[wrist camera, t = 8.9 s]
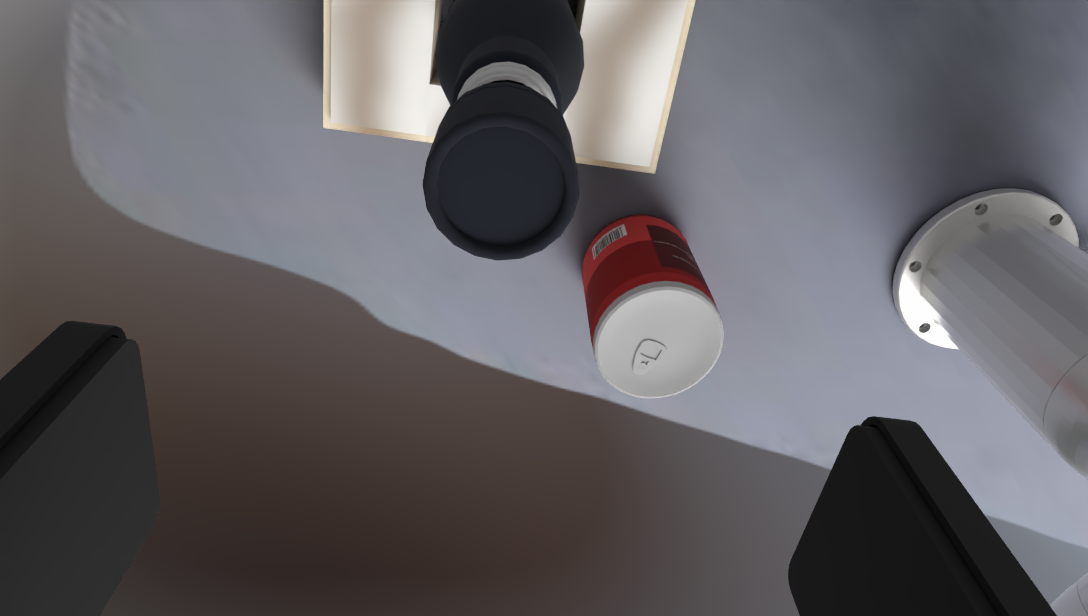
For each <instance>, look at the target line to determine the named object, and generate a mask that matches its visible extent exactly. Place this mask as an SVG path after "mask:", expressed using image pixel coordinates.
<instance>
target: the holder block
mask: <svg viewBox="0 0 1088 616" xmlns="http://www.w3.org/2000/svg"><path fill="white" fill-rule="evenodd" d="M695 1H696V0H578V7H577V13H576V19H575V21H576V24H577V27H578V29H579V32H580V35H581V37H582V40H583V49H584V69H583V73H582V77H581V81H580V85H579V89H578V91H577V93H576V95H575V97H574V99H573V100H572V102H571V103H570V105H569V107H568V108H567V110H566V111H565V113H564V114H563V117H564V120H565V122H566V125H567V127H568V130H569V132H570V135H571V139H572V144H573V149H574V154H575V160H576V163H581V164H588V165H595V166H603V167H610V168H617V169H624V170H631V171H639V172H646V173H653V174H655V170H656V166H657V162H658V158H659V153H660V149H661V145H662V141H663V136H664V132H665V128H666V124H667V119H668V115H669V111H670V107H671V102H672V98H673V94H674V90H675V85H676V81H677V77H678V73H679V68H680V64H681V60H682V56H683V51H684V47H685V43H686V39H687V34H688V30H689V26H690V22H691V17H692V13H693V9H694V5H695ZM441 13H442V0H324V85H323V128H329V129H337V130H344V131H351V132H358V133H365V134H372V135H380V136H387V137H394V138H401V139H408V140H416V141H423V142H430V143H433V141H434V138H435V135H436V132H437V130H438V127H439V125H440V123H441V121H442V119H443V117H444V115H445V114H446V112H447V110H448V108H449V107H450V104H449V102H448V100H447V98H446V96H445V94H444V91H443V89H442V87H441V85H440V82H439V78H438V71H437V65H436V58H435V52H436V46H437V40H438V33H439V30H440V26H441Z"/></svg>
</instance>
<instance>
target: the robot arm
mask: <svg viewBox="0 0 1088 616" xmlns="http://www.w3.org/2000/svg"><path fill="white" fill-rule="evenodd" d="M893 298H894V304H895V307H896V309H897V312H898V314H899V316H900V318H901V319H902V320H903V321H904V323H905V324H906V325H907V327H908V328H909V329H910V330H911V331H912V332H913V333H914V334H915V335H916V336H918V337H919V338H921V339H923V340H924V341H926V342H928V343H930V344H933V345H936V346H939V347H942V348H950V349H959V350H960V351H961V352H962V353H963V354H964V355H965V356H966V357H967V358H968V359H969V360H970V361H971V362H972V364H973V365H974V366H975V367H976V368H977V369H978V370H979V371H980V372H981V373H982V374H983V375H984V376H985V377H986V378H987V380H988V381H989V382H990V383H991V384H992V385H993V386H994V387H995V388H996V389H997V390H998V391H999V392H1000V393H1001V394H1002V396H1003V397H1004V398H1005V399H1006V400H1007V401H1008V402H1009V403H1010V404H1011V405H1012V406H1013V407H1014V408H1015V409H1016V410H1017V412H1018V413H1019V414H1020V415H1021V416H1022V417H1023V418H1024V419H1025V420H1026V421H1027V422H1028V423H1029V424H1030V425H1031V427H1032V428H1033V429H1034V430H1035V431H1036V432H1037V433H1038V434H1039V435H1040V436H1041V437H1042V438H1043V439H1044V440H1045V441H1046V442H1047V443H1048V444H1049V445H1050V446H1051V447H1052V448H1053V450H1054V451H1055V452H1056V453H1057V454H1058V455H1059V456H1060V457H1061V458H1062V459H1063V460H1064V461H1065V462H1066V463H1067V464H1068V465H1069V466H1070V467H1071V468H1072V469H1073V470H1075V471H1076V472H1077V473H1078V474H1080V475H1081V476H1083V477H1084V478H1086V479H1087V480H1088V254H1087V253H1085V252H1084V251H1082V250H1081V249H1079V238H1078V234H1077V231H1076V227H1075V224H1074V223H1073V221H1072V219H1071V218H1070V216H1069V215H1068V213H1067V212H1066V211H1065V210H1063V209H1062V208H1061V207H1060V206H1059V205H1058V204H1057V203H1055V202H1053V201H1052V200H1050V199H1048V198H1047V197H1045V196H1043V195H1040V194H1038V193H1035V192H1032V191H1030V190H1023V189H1016V188H1004V189H993V190H988V191H984V192H979V193H976V194H973V195H971V196H968V197H965V198H963V199H960V200H958V201H957V202H955V203H953V204H951V205H950V206H948V207H946V208H944V209H943V210H941V211H940V212H939V213H937V214H936V215H935V216H933V217H932V218H931V219H930V220H928V221H927V222H926V223H925V224H924V225H923V226H922V227H921V228H920V229H919V230H918V231H917V232H916V233H915V235H914V236H913V237H912V239H911V240H910V242H909V243H908V245H907V246H906V247H905V249H904V251H903V253H902V255H901V257H900V259H899V261H898V263H897V267H896V270H895V274H894V278H893ZM159 508H160V492H159V485H158V478H157V471H156V464H155V457H154V450H153V442H152V436H151V428H150V422H149V414H148V407H147V400H146V394H145V386H144V379H143V372H142V365H141V357H140V351H139V347H138V344H137V343H136V341H134V340H130V339H126V336H125V333H124V332H123V330H122V329H121V328H119V327H117V326H110V325H102V324H94V323H85V322H77V321H69V322H65V323H63V324H62V325H60V326H59V327H58V328H57V329H56V330H55V331H53V332H52V333H51V334H50V335H49V336H48V337H47V338H46V339H45V340H44V341H43V342H41V343H40V344H39V345H38V346H37V347H36V348H35V349H34V350H33V351H32V352H30V353H29V354H28V355H27V356H26V357H25V358H24V359H23V360H22V361H21V362H19V363H18V364H17V365H16V366H15V367H14V368H13V369H12V370H11V371H10V372H8V373H7V374H6V375H5V376H4V377H3V378H2V379H1V380H0V616H100V614H101V613H102V611H103V609H104V608H105V606H106V604H107V603H108V601H109V599H110V598H111V596H112V594H113V593H114V591H115V590H116V587H117V586H118V585H119V583H120V581H121V580H122V578H123V576H124V575H125V573H126V571H127V570H128V568H129V566H130V565H131V563H132V561H133V560H134V558H135V556H136V555H137V553H138V551H139V550H140V548H141V546H142V545H143V543H144V541H145V540H146V538H147V536H148V535H149V533H150V532H151V530H152V528H153V526H154V524H155V522H156V519H157V516H158V512H159ZM788 579H789V586H790V589H791V592H792V595H793V598H794V601H795V603H796V606H797V609H798V612H799V614H800V616H1088V573H1087V574H1085V575H1084V576H1083V577H1081V578H1080V579H1079V580H1078V581H1077V582H1076V583H1074V584H1073V585H1072V586H1070V587H1069V588H1068V589H1067V590H1066V591H1065V592H1064V593H1062V594H1061V595H1060V596H1059V597H1058V598H1057V599H1056V600H1055V601H1054V602H1053V603H1052V604H1051V605H1049V604H1048V603H1047V601H1046V600H1045V599H1044V597H1043V596H1042V594H1041V593H1040V591H1039V590H1038V589H1037V587H1036V586H1035V585H1034V583H1033V582H1032V580H1031V579H1030V578H1029V576H1028V575H1027V573H1026V572H1025V571H1024V569H1023V568H1022V567H1021V565H1020V564H1019V562H1018V561H1017V560H1016V558H1015V557H1014V556H1013V554H1012V553H1011V551H1010V550H1009V549H1008V547H1007V546H1006V544H1005V543H1004V542H1003V540H1002V539H1001V537H1000V536H999V535H998V533H997V532H996V531H995V529H994V528H993V526H992V525H991V524H990V522H989V521H988V519H987V518H986V517H985V515H984V514H983V512H982V511H981V510H980V508H979V507H978V506H977V504H976V503H975V501H974V500H973V499H972V497H971V496H970V494H969V493H968V492H967V490H966V489H965V488H964V486H963V485H962V483H961V482H960V481H959V479H958V478H957V476H956V475H955V474H954V472H953V471H952V469H951V468H950V467H949V465H948V464H947V463H946V461H945V460H944V458H943V457H942V456H941V454H940V453H939V451H938V450H937V449H936V447H935V446H934V445H933V443H932V442H931V440H930V439H929V438H928V436H927V435H926V433H925V432H924V431H923V429H922V428H921V427H920V426H919V425H918V424H917V423H916V422H913V421H908V420H900V419H891V418H883V417H875V416H873V417H868V418H867V419H866V420H865V421H863V423H862V424H861V426H860V425H857V426H854V427H852V428H851V429H850V431H849V432H848V434H847V436H846V439H845V441H844V443H843V445H842V448H841V450H840V452H839V454H838V456H837V459H836V461H835V463H834V465H833V468H832V470H831V472H830V474H829V476H828V479H827V481H826V483H825V485H824V488H823V490H822V492H821V494H820V497H819V499H818V501H817V503H816V505H815V508H814V510H813V512H812V514H811V517H810V519H809V521H808V523H807V526H806V528H805V530H804V532H803V534H802V537H801V539H800V541H799V543H798V545H797V548H796V550H795V552H794V554H793V556H792V559H791V561H790V564H789V573H788Z"/></svg>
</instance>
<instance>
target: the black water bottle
mask: <svg viewBox="0 0 1088 616" xmlns="http://www.w3.org/2000/svg"><path fill="white" fill-rule="evenodd" d="M435 58H436V65H437V71H438V78H439V82H440V85H441V87H442V89H443V91H444V94H445V96H446V98H447V100H448V102H449V104H450V107H449V108H448V110H447V112H446V114H445V115H444V117H443V119H442V121H441V123H440V125H439V127H438V130H437V132H436V135H435V138H434V141H433V144H432V147H431V150H430V153H429V156H428V158H427V161H426V167H425V173H424V179H423V190H424V195H425V201H426V207H427V210H428V212H429V213H430V215H431V217H432V219H433V221H434V223H435V225H436V227H437V228H438V230H439V231H441V232H442V233H443V234H444V235H445V236H446V237H447V238H448V239H449V240H450V241H451V242H452V243H453V244H454V245H455V246H457V247H459V248H461V249H463V250H465V251H467V252H469V253H471V254H472V255H474V256H478V257H483V258H488V259H493V260H509V259H521V258H523V257H526V256H529V255H531V254H534V253H536V252H539V251H541V250H543V249H544V248H546V247H547V246H548V245H549V244H551V243H552V242H553V241H555V240H556V239H557V238H558V237H560V236H561V234H562V233H563V231H564V230H565V228H566V227H567V225H568V224H569V222H570V221H571V219H572V218H573V215H574V211H575V208H576V204H577V201H578V197H579V183H578V170H577V165H576V160H575V154H574V149H573V144H572V139H571V135H570V132H569V130H568V127H567V125H566V122H565V120H564V117H563V114H564V113H565V111H566V110H567V108H568V107H569V105H570V103H571V102H572V100H573V99H574V97H575V95H576V93H577V91H578V89H579V85H580V81H581V77H582V73H583V69H584V49H583V40H582V37H581V35H580V32H579V29H578V27H577V24H576V21H575V19H574V16H573V13H572V11H571V8H570V6H569V3H568V1H567V0H455V1H454V3H453V5H452V6H451V8H450V10H449V12H448V14H447V16H446V18H445V20H444V22H443V24H442V26H441V28H440V30H439V33H438V40H437V46H436V52H435Z"/></svg>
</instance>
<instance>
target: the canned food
mask: <svg viewBox="0 0 1088 616" xmlns="http://www.w3.org/2000/svg"><path fill="white" fill-rule="evenodd" d="M582 278H583V285H584V292H585V299H586V307H587V314H588V321H589V328H590V335H591V342H592V346H593V352H594V356H595V360H596V363H597V366H598V368H599V370H600V372H601V374H602V375H603V377H604V378H605V379H606V380H607V381H608V382H609V383H610V384H611V385H612V386H613V387H615V388H616V389H617V390H619V391H621V392H624V393H626V394H628V395H631V396H635V397H639V398H663V397H667V396H671V395H675V394H677V393H680V392H682V391H685V390H687V389H688V388H690V387H692V386H693V385H695V384H697V383H698V382H699V381H700V380H701V379H702V378H704V377H705V376H706V375H707V374H708V372H709V371H710V370H711V369H712V368H713V366H714V365H715V363H716V361H717V359H718V357H719V355H720V352H721V349H722V346H723V337H724V332H723V325H722V321H721V317H720V314H719V312H718V309H717V307H716V304H715V302H714V299H713V297H712V295H711V293H710V291H709V289H708V286H707V284H706V282H705V280H704V278H703V276H702V274H701V272H700V269H699V267H698V265H697V263H696V261H695V259H694V257H693V255H692V252H691V250H690V248H689V246H688V244H687V242H686V240H685V238H684V237H683V236H682V234H681V233H680V232H679V231H678V230H677V229H676V228H675V227H674V226H673V225H671V224H669V223H668V222H666V221H664V220H662V219H659V218H656V217H653V216H647V215H633V216H628V217H624V218H621V219H618V220H616V221H614V222H612V223H610V224H609V225H608V226H606V227H605V228H604V229H602V230H601V231H600V232H599V233H598V234H597V236H596V237H595V238H594V240H593V241H592V243H591V244H590V246H589V248H588V250H587V252H586V255H585V257H584V261H583V266H582Z"/></svg>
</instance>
